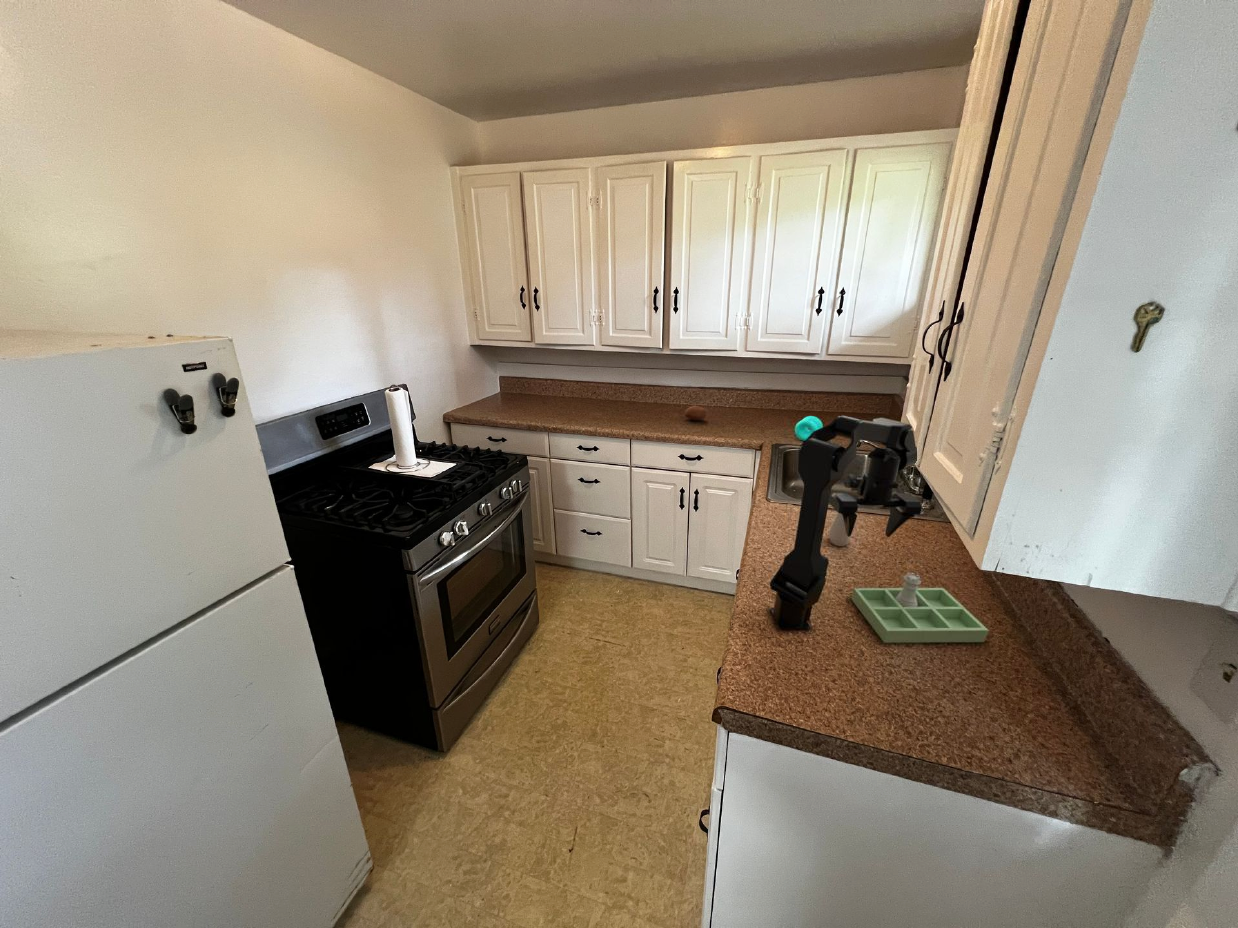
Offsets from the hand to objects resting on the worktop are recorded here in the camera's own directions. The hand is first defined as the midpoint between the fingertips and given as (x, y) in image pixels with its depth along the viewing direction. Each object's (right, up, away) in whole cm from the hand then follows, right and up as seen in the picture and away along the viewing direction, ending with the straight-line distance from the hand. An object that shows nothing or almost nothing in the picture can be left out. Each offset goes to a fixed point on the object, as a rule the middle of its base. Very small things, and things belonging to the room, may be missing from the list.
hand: (867, 535), depth 112 cm
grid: (+5, -17, -10) cm, 20 cm away
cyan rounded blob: (+27, +28, +106) cm, 113 cm away
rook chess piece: (+5, -15, -7) cm, 17 cm away
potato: (-19, +39, +132) cm, 139 cm away
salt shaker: (+2, -5, +20) cm, 21 cm away
